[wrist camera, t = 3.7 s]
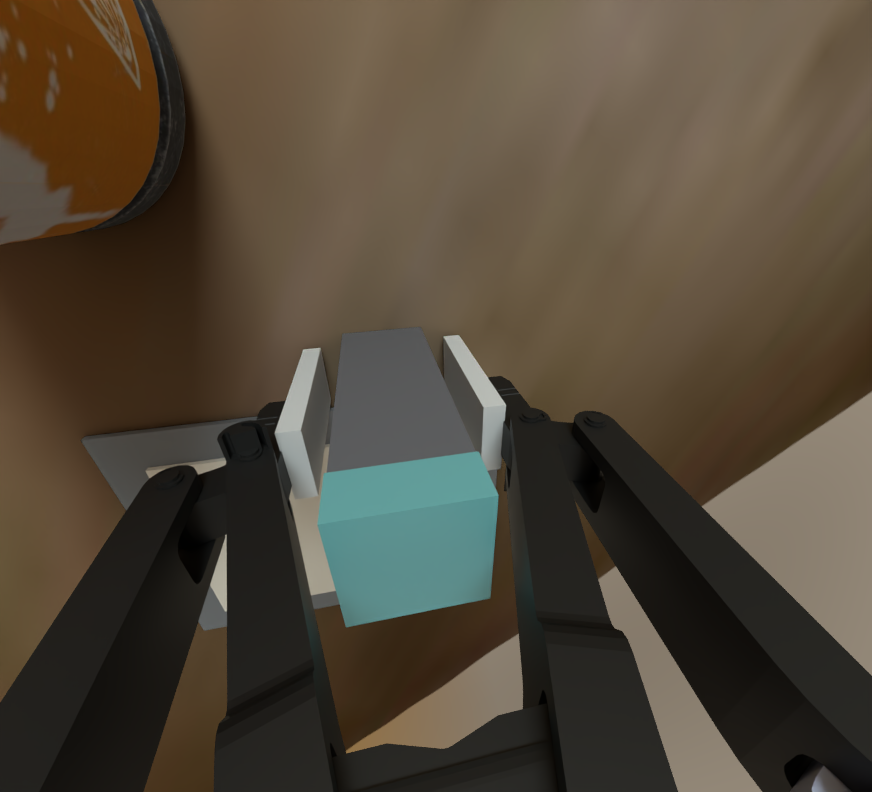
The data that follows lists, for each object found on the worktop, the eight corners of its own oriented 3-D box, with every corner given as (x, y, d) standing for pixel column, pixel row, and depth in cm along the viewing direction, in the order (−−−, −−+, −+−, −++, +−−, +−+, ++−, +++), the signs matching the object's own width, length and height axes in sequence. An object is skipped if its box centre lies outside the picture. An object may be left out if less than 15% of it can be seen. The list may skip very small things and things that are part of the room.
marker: (352, 402, 18) (346, 627, 9) (341, 332, 16) (317, 524, 7) (425, 394, 19) (490, 598, 9) (421, 325, 17) (498, 495, 8)
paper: (205, 625, 25) (202, 634, 24) (84, 436, 17) (76, 443, 16) (487, 571, 28) (490, 578, 27) (501, 388, 19) (504, 392, 19)
